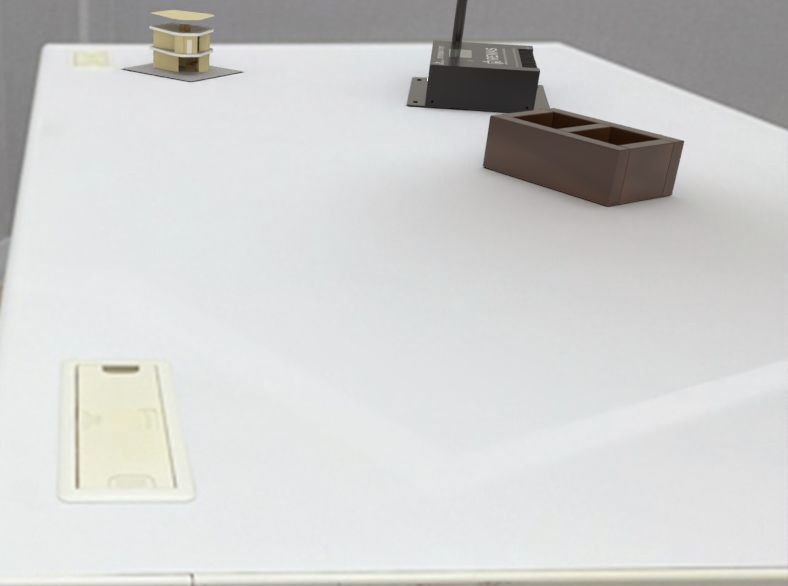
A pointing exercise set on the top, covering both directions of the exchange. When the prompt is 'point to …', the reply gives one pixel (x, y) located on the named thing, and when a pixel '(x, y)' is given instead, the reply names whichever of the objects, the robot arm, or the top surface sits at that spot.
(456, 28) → the wireless controller
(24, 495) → the top surface
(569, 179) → the brown divided tray
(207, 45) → the stacked layers on plate
